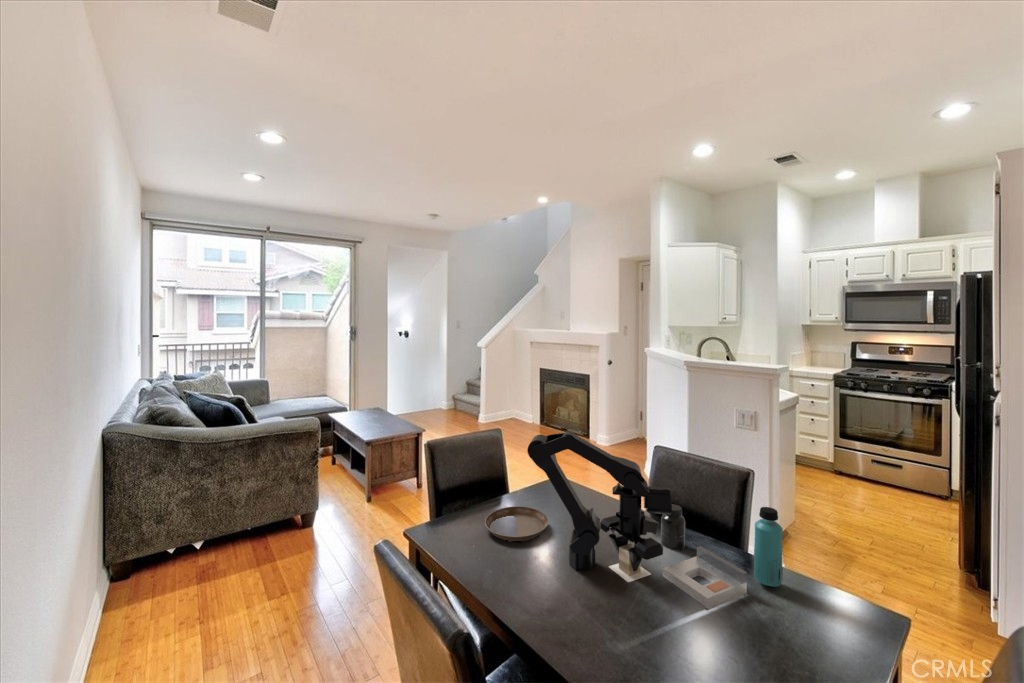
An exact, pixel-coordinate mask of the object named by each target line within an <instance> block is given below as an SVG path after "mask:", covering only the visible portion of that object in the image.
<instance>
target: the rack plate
mask: <svg viewBox="0 0 1024 683" xmlns="http://www.w3.org/2000/svg"><path fill="white" fill-rule="evenodd" d="M698 576H700V577H702V578H704V579H705V580H707V581H708V582H709V583H705V584H703V585H702V584H701V583H699V582H698V581H696V580H694V579H693V578H695V577H698ZM662 577H663V578H665V579H666V580H667V581H669V582H670V583H671V584H674V586H676V587H677V588H679V589H680V590H681V591H683V592H685V593H686V594H688V595H689V596H691V598H693V599H695V600H696V601H697V602H698V603H701V605H703V606H704V607H705V608H704V609H705V610H706V611H710V610H713V609H715V608H717V607H719V606H721V605H724V604H726V603H728V602H730V601H733V600H735V599H737V598H740V597H743V596H744V594H745V595H746V594H747V592H748V591H747V590H748V589H747V588H748V572H747V571H746V570H744V569H742V568H740V567H738V566H737V565H735V564H733V563H731V561H728V560H726V559H725V558H722V557H721V556H719V555H717V554H716V553H714V552H712V551H711V550H708V549H707V548H705V547H703V546H701V545H700V546H697V547H696V556H693V557H691V558H688V559H685V560H682V561H679V562H677V563H673V564H671V565H667V566H665V567H663V568H662Z"/></svg>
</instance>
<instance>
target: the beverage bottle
mask: <svg viewBox="0 0 1024 683" xmlns="http://www.w3.org/2000/svg"><path fill="white" fill-rule="evenodd" d="M758 513H759V514H758V516H759V517H760V519H759V520H756V521H755V523H754V545H753V551H754V552H753V563H752V564H753V576H754V579H755V580H756V581H757V582H758V583H760V584H761V585H764V586H767V587H779V586H781V585H782V583H783V570H784V569H783V563H784V562H783V561H784V560H783V531H784V529H783V527H782V526H781V525H780V524H779V523H778V522H777V521H778V520H779V513H778V510H777V509H775V508H773V507H769V506H761V507H760V509H759V512H758Z"/></svg>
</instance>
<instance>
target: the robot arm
mask: <svg viewBox="0 0 1024 683" xmlns="http://www.w3.org/2000/svg"><path fill="white" fill-rule="evenodd" d="M567 450H568V451H571V452H572V453H575V454H576V455H578V456H580V457H581V458H583V459H585V460H587V461H589V462H591V463H592V464H594V465H596V466H597V467H599V468H601V469H602V470H604V471H606V472H607V474H609V475H610V476H611V477H612V478H613V479H614V481H616V482H617V484H616V485H615V486H613V487H611V488H612V491H611V492H612V495H614V496H615V495H616V496H618V497H619V498H618V499H619V500H618V502H619V506H618V507H619V509H618V510H619V511H617V512H616V513H615V515H612V516H608V517H607V516H606V517H604V518H602V519H600V518H599V517H598V515H596V512H595V509H594V507H591V508H590V509H588V508H586V507H585V505H584V504H583V503H582V501H581V500H580V498H579V496H578V494H577V493H576V491H575V489H574V488H573V486H572V485H571V483H570V481H569V480H568V478H567V476H566V475H565V473H564V471H563V469H562V468H561V466H560V465H559V462H558V460H557V457H556V454H558V453H560V452H563V451H567ZM527 455H528V457H529V459H530V460H532V462H533V463H534V464H535V465H536V466H537V467H538V468H539V469H540V470H542V471H543V472H544V474H545V475H546V476H547V478H548V479H549V482H550V483H551V484H552V487H553V489H555V492H556V493H557V495H558V497H559V498H560V500H561V502H562V503H563V506H564V507H565V509H566V510H567V511H568V513H569V515H570V517H571V520H572V524H573V528H574V529H572V531H571V538H570V544H569V546H568V547H569V553H568V554H569V556H568V558H569V559H568V560H569V564H568V565H569V567H570V568H572V569H573V571H575V572H578V571H580V572H586V571H589V570H591V569H592V568H593V566H595V565H596V549H595V547H596V545H598V543H599V542H600V538H601V537H600V535H601V530H602V531H603V532H605V533H609V532H610V534H608V537H609V539H610V540H611V542H612V544H613V546H614V548H615V550H616V552H617V554H618V555H619V547H621V546H624V545H627V544H629V542H631V544H634V545H633V546H634V547H633V548H630V549H628V551H629V556H630V560H631V565H632V568H633V571H637V570H638V567H639V565H640V562H641V563H642V561H643V560H647V561H648V560H651V559H654V558H658V557H660V556H663V554H664V546H663V545H662V544H661V542H658V541H657V540H655V539H654V538H653V537H648V538H643V537H641V536H646V535H647V534H648V533H650V534H651V533H652V534H654V535H656V534H657V532H658V527H659V524H660V522H659V521H657V520H655V519H654V518H652V517H650V516H648V515H645V511H643V509H642V498H643V508H644V509H646V512H648V514H658V515H659V514H660V515H663V514H669V515H671V512H672V502H671V501H672V500H671V499H672V498H671V489H670V487H669V486H661V487H660V486H649V484H648V481H647V480H646V479H645V478H644V477H643V475H642V470H641V467H640V465H639V464H638V463H636V462H635V461H632V460H630V459H628V458H624V457H620V456H615V455H613V454H610V453H609V452H607V451H605V450H604V449H602V448H600V447H598V446H596V445H594V444H593V443H591V442H589V441H588V440H585V439H584V438H582V437H580V436H579V435H577V434H576V433H575V432H573V431H572V430H571V431H570V430H568V431H564V432H559V433H551V434H547V435H545V434H537V435H534V437H533V438H532V439H531V441H530V443H529V444H528V447H527Z"/></svg>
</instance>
